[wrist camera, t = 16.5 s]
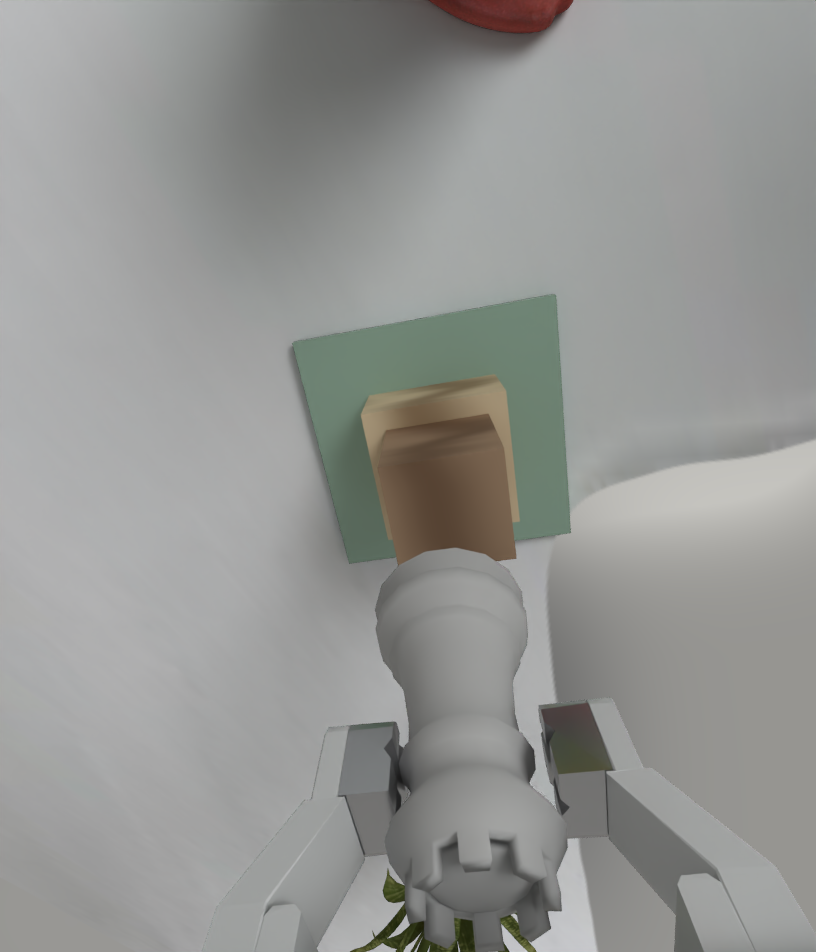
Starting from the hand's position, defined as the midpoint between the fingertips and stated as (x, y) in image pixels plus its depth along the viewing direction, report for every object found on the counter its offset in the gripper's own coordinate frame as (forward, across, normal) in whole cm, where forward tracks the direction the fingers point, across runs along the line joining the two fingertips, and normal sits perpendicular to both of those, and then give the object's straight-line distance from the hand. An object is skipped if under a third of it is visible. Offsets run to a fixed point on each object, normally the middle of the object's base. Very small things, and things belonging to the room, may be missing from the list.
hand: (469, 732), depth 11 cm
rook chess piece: (+5, 0, 0) cm, 5 cm away
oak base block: (+19, 0, 0) cm, 19 cm away
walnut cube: (+15, 0, 0) cm, 15 cm away
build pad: (+20, 0, 0) cm, 20 cm away
